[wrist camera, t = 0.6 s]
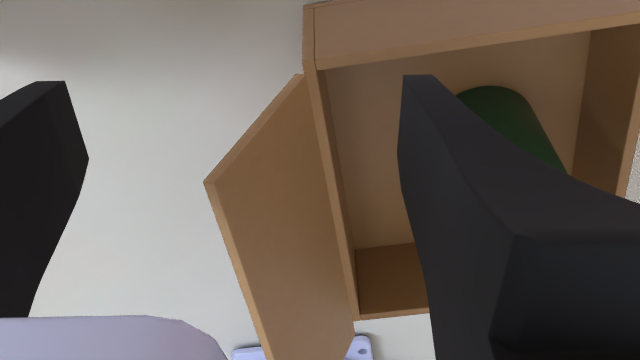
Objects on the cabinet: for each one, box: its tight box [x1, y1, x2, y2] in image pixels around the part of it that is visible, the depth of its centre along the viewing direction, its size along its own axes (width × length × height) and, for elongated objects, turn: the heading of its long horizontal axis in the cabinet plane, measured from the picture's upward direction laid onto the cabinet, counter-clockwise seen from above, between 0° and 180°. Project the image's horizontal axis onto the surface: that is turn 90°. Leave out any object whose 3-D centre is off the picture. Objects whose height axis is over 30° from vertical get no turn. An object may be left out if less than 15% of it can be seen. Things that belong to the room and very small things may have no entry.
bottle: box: [456, 86, 568, 174], centre depth 21 cm, size 4×4×9 cm
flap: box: [203, 74, 355, 360], centre depth 20 cm, size 13×5×1 cm
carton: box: [302, 0, 640, 321], centre depth 24 cm, size 13×11×4 cm
